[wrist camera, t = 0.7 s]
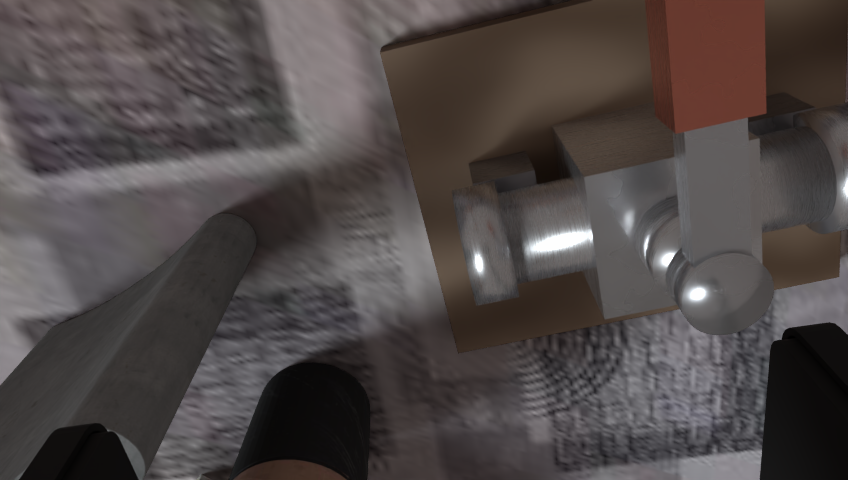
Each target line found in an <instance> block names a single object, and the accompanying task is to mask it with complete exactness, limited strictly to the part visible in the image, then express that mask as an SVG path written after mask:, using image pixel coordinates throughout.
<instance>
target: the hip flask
mask: <svg viewBox="0 0 848 480" xmlns="http://www.w3.org/2000/svg"><path fill="white" fill-rule="evenodd" d="M256 244H257V239H256V234H255V232H254V230H253V228H252V227H251V225H250V224H249V223H248V222H247V221H246V220H244V219H243V218H241V217H239V216H236V215H233V214H225V213H223V214H217V215H215V216H212V217H211V218H209V219H208V220H207V221H206V222H205V223H204V224H203V225H202V226H201V227H200V229H199V230H198V231H197V232H196V233H195V234H194V235H193V236H192V237H191V238H190V239H189V240H188V241H187V242H186V243H185V244H184V245H183V246H182V247H181V248H180V249H179V250H178V251H177V252H176V253H175V254H173V255H172V256H171V257H170V258H169V259H168V260H166V261H165V262H164V263H163V264H162V265H160V266H159V267H158V268H156V269H155V270H154V271H153V272H151V273H150V274H149V275H147V276H146V277H144V278H143V279H141V280H140V281H139V282H137V283H136V284H134V285H133V286H131V287H130V288H128V289H127V290H125V291H124V292H122V293H121V294H119V295H117V296H116V297H114V298H113V299H111V300H109V301H107V302H106V303H104V304H102V305H100V306H98V307H97V308H95V309H93V310H91V311H89V312H87V313H85V314H83V315H80V316H78V317H76V318H73V319H71V320H69V321H66V322H64V323H61V324H59V325H56V326H54V327H52V328H51V329H50V330H49V331H48V332H47V333H46V335H45V336H44V337H43V338H42V339H41V340H40V341H39V342H38V344H37V345H36V346H35V347H34V348H33V349H32V350H31V351H30V353H29V354H28V355H27V356H26V357H25V358H24V359H23V360H22V362H21V363H20V364H19V365H18V366H17V367H16V368H15V369H14V371H13V372H12V373H11V374H10V375H9V376H8V377H7V378H6V380H5V381H4V382H3V383H2V384H1V385H0V480H19V479H20V477H21V476H22V475H23V473H24V472H25V470H26V469H27V467H28V466H29V464H30V463H31V462H32V460H33V459H34V457H35V456H36V454H37V453H38V451H39V450H40V449H41V447H42V446H43V444H44V443H45V441H46V440H47V438H48V437H49V436H50V434H51V433H52V432H53V431H54V430H56V429H58V428H62V427H69V426H77V425H84V424H91V423H100V424H102V425H103V426H104V427H105V428H106V429H107V431H113V432H115V433H116V434H117V435H118V437H119V438H120V441H121V443H122V445H123V447H124V449H125V451H126V453H127V456H128V458H129V460H130V462H131V464H132V466H133V469H134V471H135V473H136V475H137V477H138V479H139V480H143V479H144V477H145V475H146V473H147V471H148V469H149V467H150V465H151V463H152V461H153V459H154V457H155V455H156V453H157V451H158V449H159V446H160V444H161V442H162V440H163V438H164V436H165V434H166V432H167V430H168V428H169V426H170V424H171V422H172V420H173V418H174V416H175V414H176V411H177V409H178V407H179V405H180V403H181V401H182V399H183V397H184V395H185V393H186V391H187V389H188V387H189V385H190V383H191V381H192V379H193V377H194V374H195V372H196V370H197V368H198V366H199V364H200V362H201V360H202V358H203V356H204V354H205V352H206V350H207V348H208V346H209V344H210V342H211V340H212V337H213V335H214V333H215V331H216V329H217V327H218V325H219V323H220V321H221V319H222V317H223V315H224V313H225V311H226V309H227V307H228V305H229V303H230V300H231V298H232V296H233V294H234V292H235V290H236V288H237V286H238V284H239V282H240V280H241V278H242V276H243V274H244V272H245V270H246V268H247V266H248V263H249V261H250V259H251V257H252V255H253V253H254V251H255V249H256Z"/></svg>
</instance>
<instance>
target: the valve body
mask: <svg viewBox="0 0 848 480" xmlns="http://www.w3.org/2000/svg"><path fill="white" fill-rule="evenodd" d="M551 126H552V133H553V139H554V145H555V151H556V158H557V164H558V170H559V176H560V179H559V180H555V181H550V182H546V183H541V184H537V182H536V176H535V170H534V168H533V166H532V164H531V162H530V159H529V157H528V155H527V153H526V151H521V152H516V153H512V154H508V155H503V156H499V157H494V158H490V159H485V160H481V161H477V162H472V163H468V164H469V169H470V174H471V179H472V184H473V186H469V187H465V188H460V189H456V190H452V196H453V203H454V209H455V214H456V219H457V224H458V229H459V234H460V239H461V244H462V248H463V253H464V258H465V262H466V266H467V271H468V275H469V279H470V283H471V287H472V291H473V295H474V299H475V302H476V305H477V306H478V305H483V304H488V303H493V302H498V301H503V300H507V299H512V298H517V297H519V292H518V286H517V284H521V283H526V282H531V281H536V280H541V279H546V278H550V277H555V276H560V275H565V274H570V273H574V272H579V271H582V272H583V274H584V276H585V278H586V281H587V283H588V285H589V287H590V289H591V291H592V294H593V296H594V298H595V300H596V302H597V304H598V307H599V309H600V311H601V313H602V315H603V317H604V319H609V318H614V317H619V316H624V315H629V314H634V313H639V312H644V311H649V310H654V309H659V308H664V307H669V306H674V305H677V304H676V303H675V301H674V300H673V298H672V297H671V295H670V293H669V291H668V289H667V286H666V271H667V268H668V265H669V263H670V261H671V259H672V258H673V256H674V255H675V254H676V253H677V252H678V250H679V249H681V248H682V246H681V234H680V221H679V209H678V196H677V184H676V171H675V159H674V146H673V134H672V130H670V129H669V128H668V127H667V126H666V125H665V124H663V123H662V122H661V121H660V120H659V119H657V118H656V117H655V107H654V102H651V103H647V104H643V105H638V106H634V107H629V108H625V109H621V110H616V111H612V112H608V113H603V114H599V115H595V116H590V117H586V118H581V119H577V120H573V121H568V122H564V123H560V124H555V125H551ZM748 140H749V174H750V207H751V241H752V254H753V255H754V256H755V257H756V258H757V259H758V260H759V261H760V263H761V264H762V233H766V232H771V231H776V230H781V229H786V228H790V227H795V226H800V225H806V226H807V227H808V228H810V229H811V230H812V231H814V232H816V233H820V234H827V233H832V232H837V231H842V230H847V229H848V102H846V103H841V104H836V105H832V106H827V107H823V108H818V109H816V107H814V106H812V105H810V104H808V103H806V102H804V101H801V100H799V99H797V98H795V97H793V96H791V95H789V94H787V93H785V92H781V93H777V94H772V95H768V96H766V114H762V115H757V116H753V117H748Z"/></svg>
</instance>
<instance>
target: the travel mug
mask: <svg viewBox="0 0 848 480" xmlns="http://www.w3.org/2000/svg"><path fill="white" fill-rule="evenodd" d="M369 435H370V404H369V400H368V397H367V394H366V392H365V390H364V389H363V387H362V386H361V385H360V383H359V382H358V381H357V380H356V379H355V378H354V377H352V376H351V375H350V374H348V373H346V372H345V371H343V370H341V369H339V368H336V367H333V366H330V365H326V364H319V363H306V364H299V365H295V366H292V367H289V368H286V369H284V370H282V371H281V372H279V373H278V374H276V375H275V376H274V377H273V378H272V379H271V380H270V381H269V382H268V384H267V385H266V387H265V388H264V390H263V392H262V395H261V397H260V400H259V402H258V405H257V407H256V410H255V412H254V415H253V417H252V420H251V423H250V425H249V428H248V431H247V433H246V436H245V439H244V441H243V444H242V446H241V449H240V452H239V454H238V457H237V460H236V462H235V465H234V468H233V470H232V473H231V475H230V478H229V480H367V475H368V455H369Z"/></svg>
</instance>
